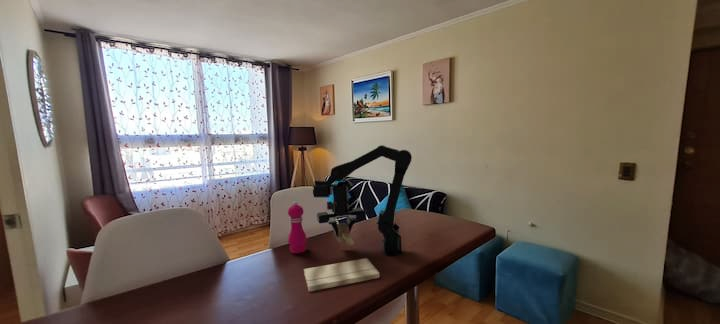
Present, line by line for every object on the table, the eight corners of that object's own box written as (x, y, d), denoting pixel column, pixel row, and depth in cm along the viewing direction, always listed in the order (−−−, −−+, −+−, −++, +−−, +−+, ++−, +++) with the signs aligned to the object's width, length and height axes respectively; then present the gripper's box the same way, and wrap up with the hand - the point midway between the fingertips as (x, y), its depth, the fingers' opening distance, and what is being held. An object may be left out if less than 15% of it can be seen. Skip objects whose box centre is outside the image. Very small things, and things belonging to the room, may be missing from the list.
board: (367, 262, 101) (366, 258, 101) (379, 277, 89) (379, 272, 89) (304, 273, 94) (303, 268, 94) (308, 291, 83) (308, 286, 83)
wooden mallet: (345, 236, 116) (345, 222, 115) (357, 250, 101) (356, 235, 100) (335, 237, 115) (335, 224, 114) (346, 252, 99) (345, 236, 99)
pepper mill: (302, 254, 110) (299, 203, 108) (285, 253, 111) (282, 203, 110) (309, 247, 117) (307, 199, 115) (293, 246, 118) (290, 199, 117)
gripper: (357, 191, 121) (359, 227, 123) (313, 196, 116) (315, 233, 117) (365, 196, 111) (367, 235, 112) (318, 201, 105) (320, 242, 106)
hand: (342, 236), depth 112 cm, fingers closed on wooden mallet, 4 cm apart
